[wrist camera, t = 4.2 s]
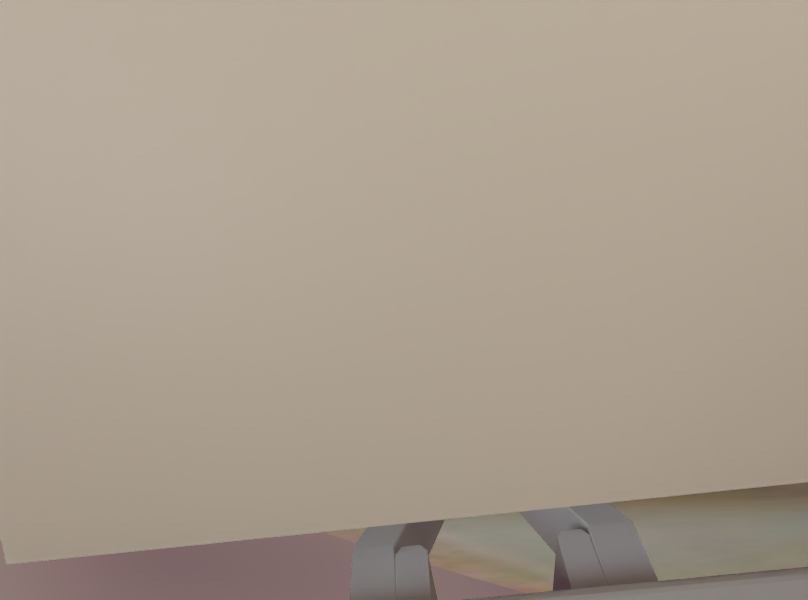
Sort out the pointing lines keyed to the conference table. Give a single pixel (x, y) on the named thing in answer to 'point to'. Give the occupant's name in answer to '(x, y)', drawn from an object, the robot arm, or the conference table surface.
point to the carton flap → (393, 262)
